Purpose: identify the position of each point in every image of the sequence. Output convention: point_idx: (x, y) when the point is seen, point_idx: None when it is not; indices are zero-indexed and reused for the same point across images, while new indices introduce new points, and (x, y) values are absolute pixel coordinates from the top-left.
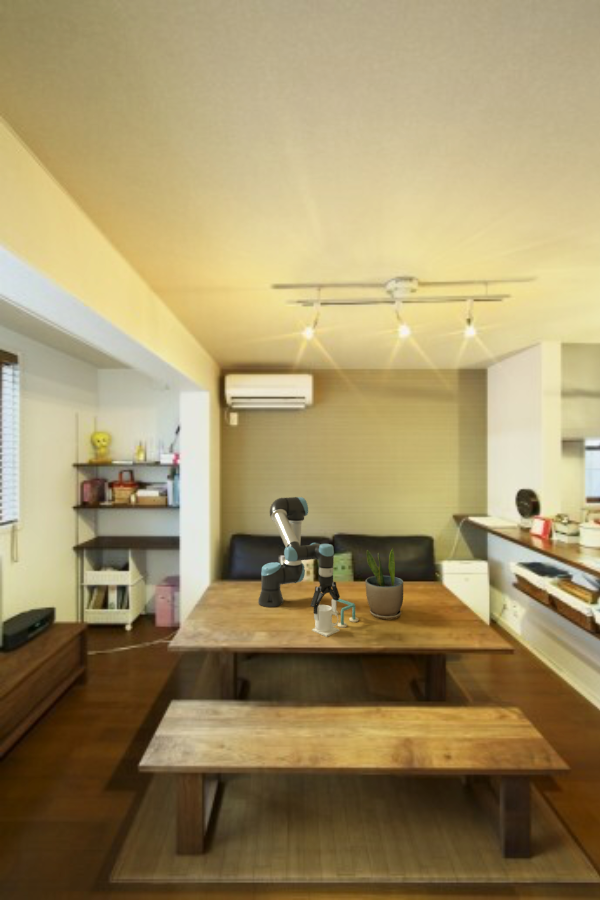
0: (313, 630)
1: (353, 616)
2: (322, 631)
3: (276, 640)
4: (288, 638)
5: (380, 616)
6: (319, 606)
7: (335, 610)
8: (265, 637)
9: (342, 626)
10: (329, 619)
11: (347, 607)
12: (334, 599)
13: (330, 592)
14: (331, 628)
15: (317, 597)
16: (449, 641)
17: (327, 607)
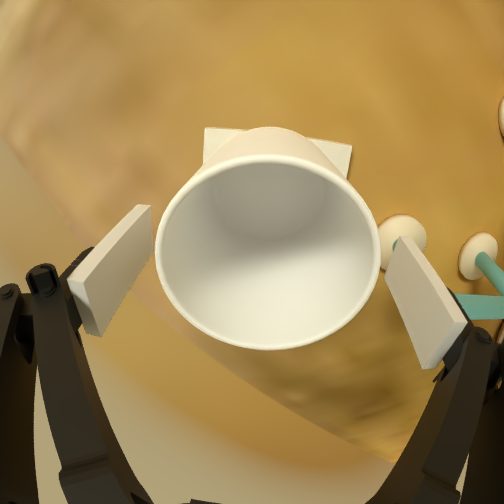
0: (205, 142)
1: (482, 270)
2: (219, 212)
3: (11, 95)
4: (48, 111)
5: (501, 335)
6: (313, 169)
7: (392, 293)
8: (6, 43)
9: None
10: (254, 288)
11: (475, 318)
12: (452, 349)
13: (389, 486)
14: (291, 240)
15: (19, 434)
16: (393, 448)
17: (365, 253)
